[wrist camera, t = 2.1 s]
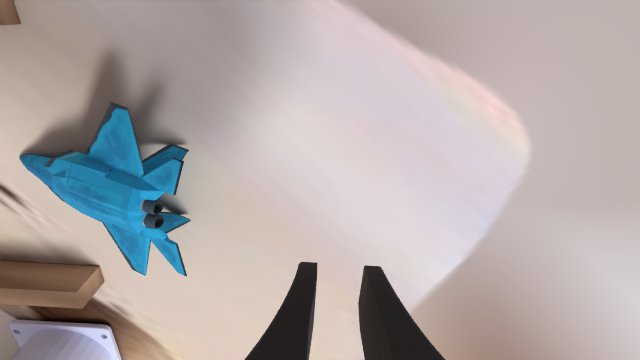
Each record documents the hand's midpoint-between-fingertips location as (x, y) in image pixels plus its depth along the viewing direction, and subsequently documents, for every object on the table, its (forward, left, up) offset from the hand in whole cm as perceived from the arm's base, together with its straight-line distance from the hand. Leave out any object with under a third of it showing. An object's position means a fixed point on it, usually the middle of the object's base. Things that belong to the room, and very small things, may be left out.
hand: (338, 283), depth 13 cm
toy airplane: (0, +13, -9) cm, 15 cm away
